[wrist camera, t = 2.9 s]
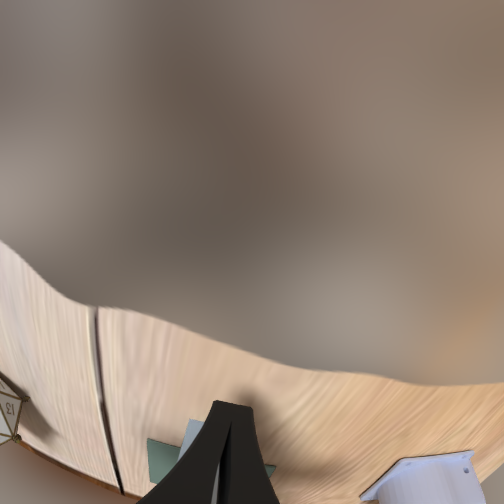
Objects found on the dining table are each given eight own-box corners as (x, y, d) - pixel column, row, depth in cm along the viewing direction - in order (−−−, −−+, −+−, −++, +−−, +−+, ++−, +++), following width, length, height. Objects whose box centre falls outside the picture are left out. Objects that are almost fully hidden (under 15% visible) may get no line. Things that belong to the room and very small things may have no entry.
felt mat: (275, 466, 20) (275, 468, 19) (251, 502, 23) (251, 503, 23) (147, 438, 20) (146, 440, 19) (150, 480, 23) (150, 481, 23)
